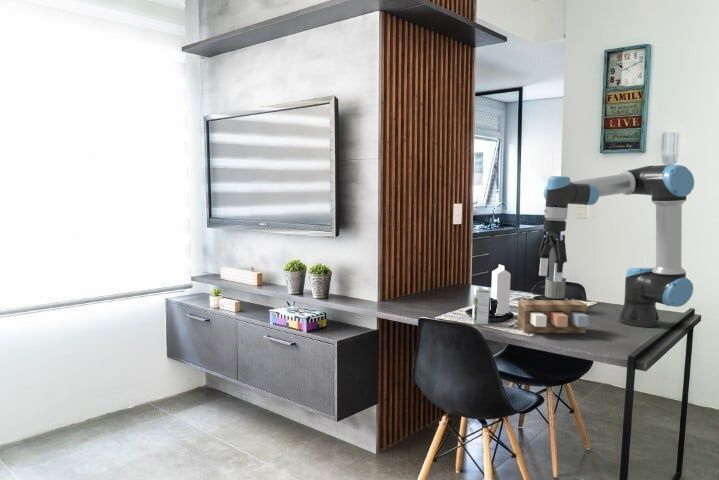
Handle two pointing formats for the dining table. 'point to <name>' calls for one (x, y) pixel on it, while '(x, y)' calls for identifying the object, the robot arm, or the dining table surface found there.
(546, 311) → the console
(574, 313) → the slate button
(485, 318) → the syrup box
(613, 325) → the dining table surface
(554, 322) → the salmon pink block
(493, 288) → the milk
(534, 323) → the cream button
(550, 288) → the milk frother
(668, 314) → the dining table surface
